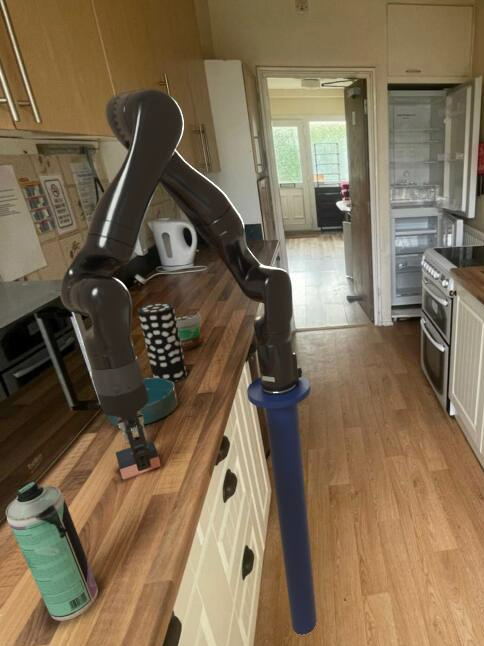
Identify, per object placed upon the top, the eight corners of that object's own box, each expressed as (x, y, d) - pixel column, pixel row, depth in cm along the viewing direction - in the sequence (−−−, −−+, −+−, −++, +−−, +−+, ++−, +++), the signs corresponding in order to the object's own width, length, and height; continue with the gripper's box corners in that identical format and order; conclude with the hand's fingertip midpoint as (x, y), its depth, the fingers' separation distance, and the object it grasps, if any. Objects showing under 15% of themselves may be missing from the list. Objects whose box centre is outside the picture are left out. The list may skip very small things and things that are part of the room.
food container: (171, 355, 130) (164, 325, 126) (164, 349, 134) (158, 319, 131) (211, 344, 138) (206, 315, 134) (203, 339, 142) (198, 310, 138)
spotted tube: (188, 368, 123) (176, 301, 115) (184, 381, 115) (170, 311, 107) (157, 371, 121) (142, 304, 113) (150, 385, 113) (133, 314, 105)
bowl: (170, 389, 111) (166, 372, 109) (184, 414, 100) (180, 396, 98) (104, 407, 103) (99, 389, 101) (112, 437, 92) (106, 417, 90)
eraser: (157, 456, 86) (152, 439, 85) (160, 466, 84) (156, 449, 82) (120, 469, 83) (115, 452, 81) (123, 480, 80) (117, 462, 78)
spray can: (107, 583, 61) (66, 470, 53) (80, 621, 56) (31, 503, 48) (69, 581, 61) (23, 469, 53) (39, 620, 56) (-16, 502, 48)
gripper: (150, 393, 73) (169, 468, 80) (136, 363, 84) (154, 432, 90) (100, 407, 69) (124, 485, 76) (92, 374, 80) (113, 445, 86)
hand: (140, 456), depth 83 cm, fingers open, 8 cm apart
